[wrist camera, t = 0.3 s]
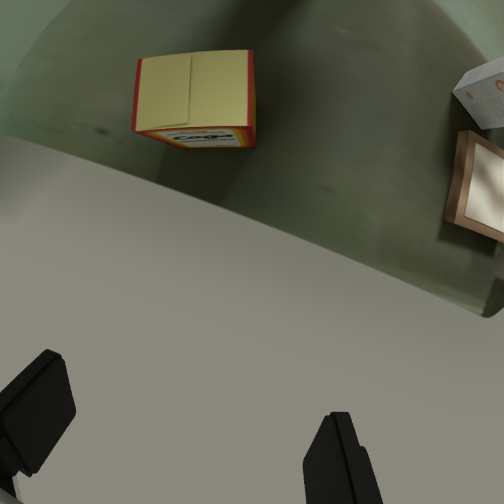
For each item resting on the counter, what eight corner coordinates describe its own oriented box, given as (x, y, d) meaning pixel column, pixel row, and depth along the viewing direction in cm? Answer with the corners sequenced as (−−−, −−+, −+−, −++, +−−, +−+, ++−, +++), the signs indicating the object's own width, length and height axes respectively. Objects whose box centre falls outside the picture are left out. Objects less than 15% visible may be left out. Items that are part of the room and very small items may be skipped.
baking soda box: (256, 99, 34) (252, 48, 19) (255, 147, 36) (250, 125, 20) (183, 101, 34) (136, 58, 19) (181, 148, 36) (129, 131, 20)
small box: (493, 108, 32) (545, 99, 19) (480, 130, 33) (536, 124, 20) (465, 71, 31) (514, 50, 18) (450, 91, 32) (503, 72, 19)
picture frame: (458, 131, 33) (470, 129, 30) (511, 163, 34) (523, 163, 31) (443, 219, 37) (454, 223, 34) (497, 240, 37) (509, 245, 34)
